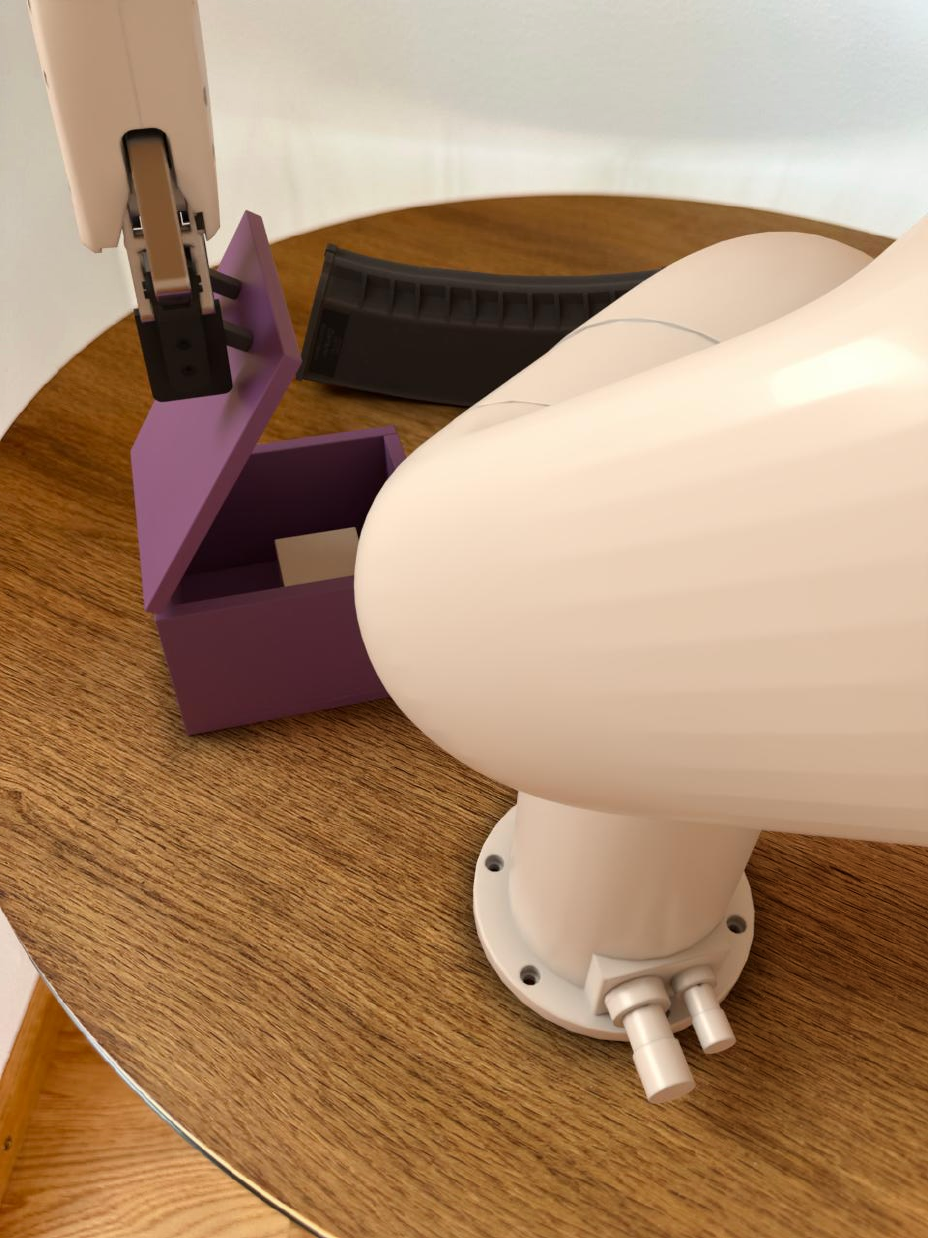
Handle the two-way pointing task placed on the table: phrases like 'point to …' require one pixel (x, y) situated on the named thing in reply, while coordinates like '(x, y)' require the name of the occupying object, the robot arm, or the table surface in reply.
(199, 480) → the lid
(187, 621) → the box
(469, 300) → the magazine
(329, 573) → the block
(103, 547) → the table surface
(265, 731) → the table surface
